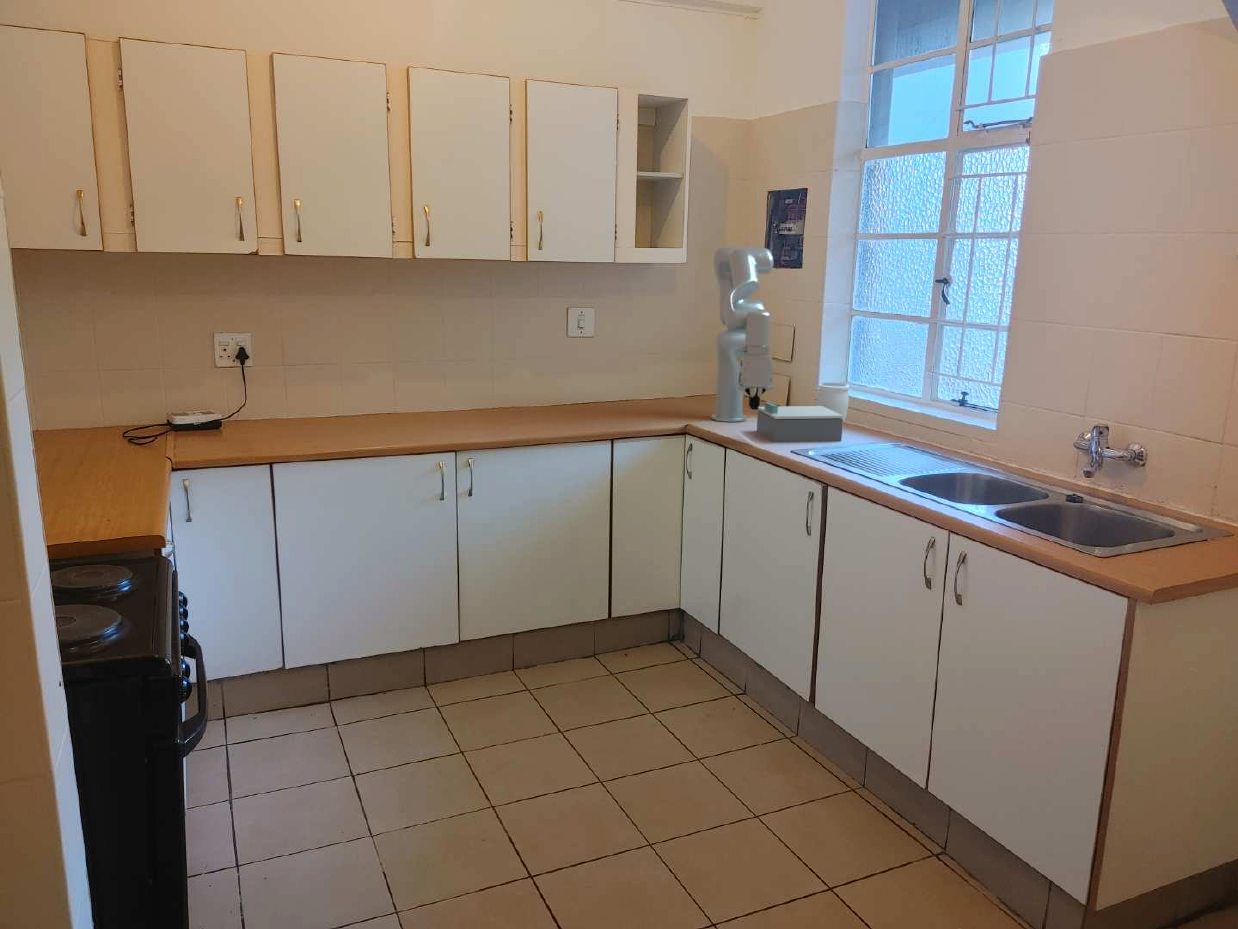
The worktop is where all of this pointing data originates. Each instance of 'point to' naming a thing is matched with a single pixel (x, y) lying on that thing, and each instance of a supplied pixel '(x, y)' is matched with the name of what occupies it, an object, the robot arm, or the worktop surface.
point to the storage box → (799, 429)
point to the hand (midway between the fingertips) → (754, 408)
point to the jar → (834, 397)
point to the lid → (798, 412)
